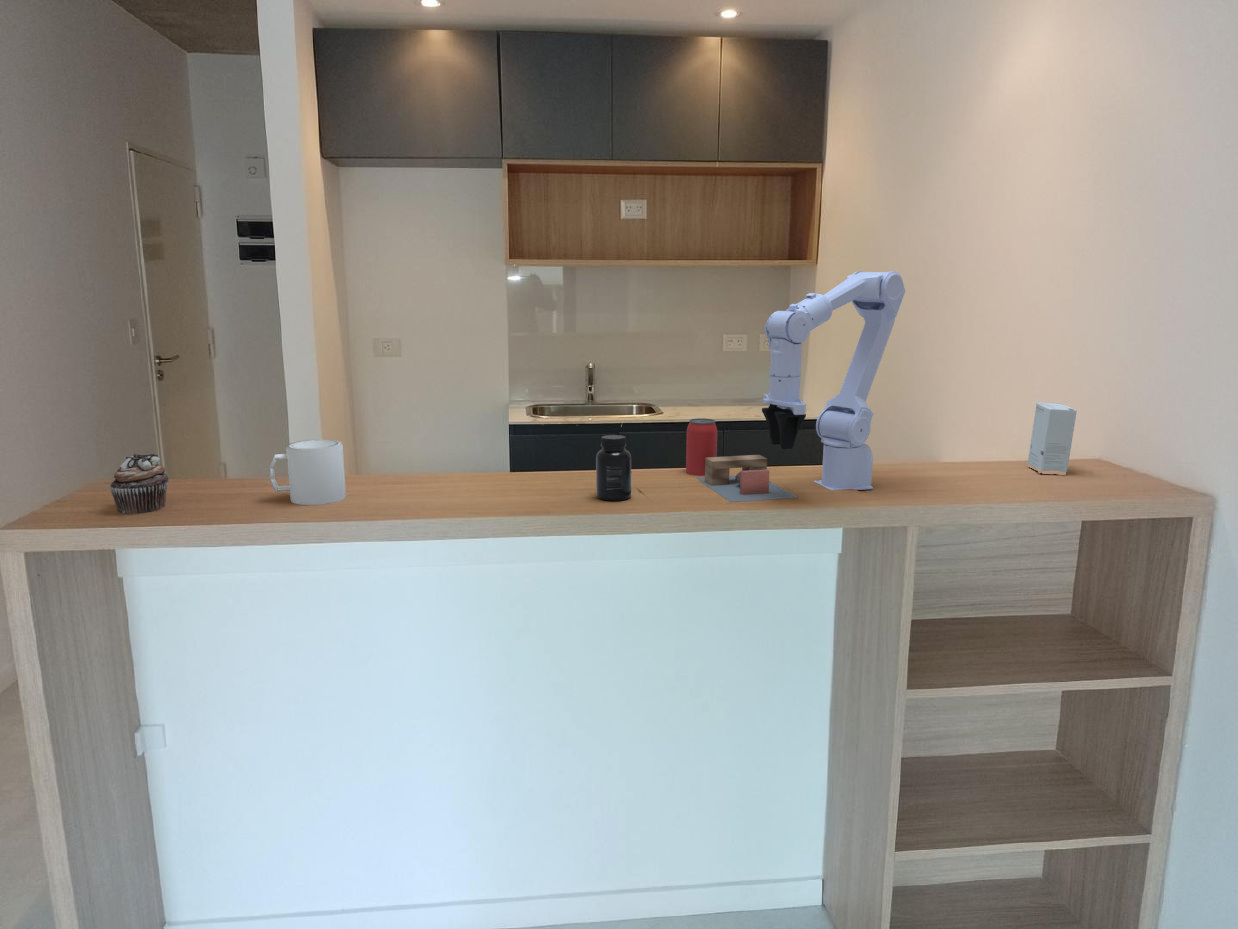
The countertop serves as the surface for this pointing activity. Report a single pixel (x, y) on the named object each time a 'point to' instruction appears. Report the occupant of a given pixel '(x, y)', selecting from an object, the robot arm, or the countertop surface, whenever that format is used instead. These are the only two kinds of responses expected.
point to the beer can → (700, 444)
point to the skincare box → (1051, 437)
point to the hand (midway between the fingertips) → (781, 446)
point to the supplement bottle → (613, 469)
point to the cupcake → (140, 485)
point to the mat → (733, 494)
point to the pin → (753, 481)
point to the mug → (313, 472)
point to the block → (721, 466)
